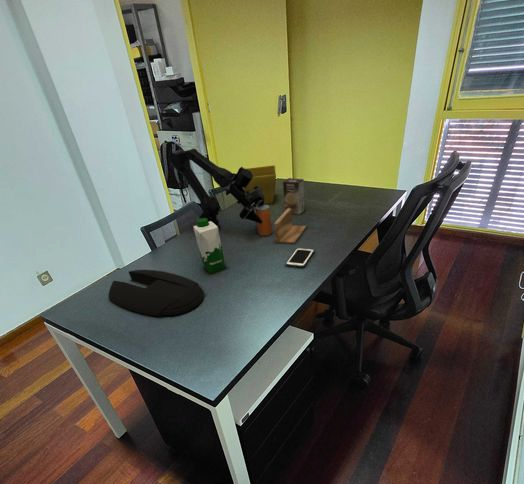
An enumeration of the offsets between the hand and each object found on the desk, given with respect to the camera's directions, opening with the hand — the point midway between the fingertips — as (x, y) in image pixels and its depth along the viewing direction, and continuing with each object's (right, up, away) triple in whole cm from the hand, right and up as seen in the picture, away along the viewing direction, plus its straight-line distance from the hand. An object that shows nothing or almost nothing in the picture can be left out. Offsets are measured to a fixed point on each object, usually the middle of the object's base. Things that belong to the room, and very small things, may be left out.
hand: (265, 218), depth 155 cm
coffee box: (+16, +12, +22) cm, 30 cm away
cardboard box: (-2, +24, +41) cm, 47 cm away
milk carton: (-21, -27, -16) cm, 38 cm away
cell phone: (+14, -23, -19) cm, 33 cm away
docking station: (-41, -39, -28) cm, 64 cm away
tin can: (0, -5, +5) cm, 7 cm away
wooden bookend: (+12, -7, 0) cm, 14 cm away
